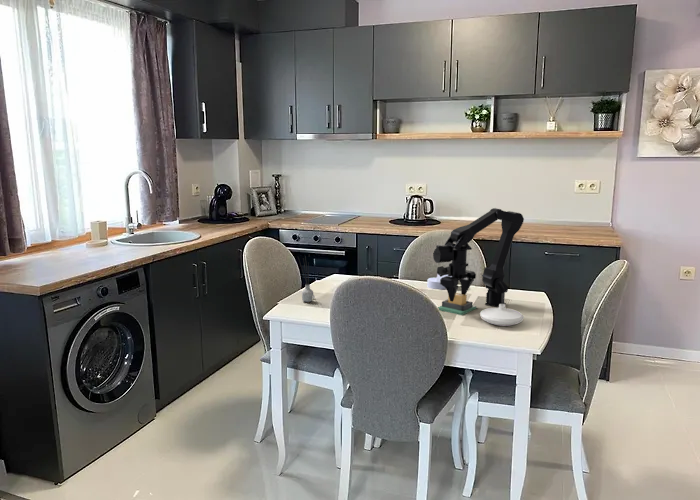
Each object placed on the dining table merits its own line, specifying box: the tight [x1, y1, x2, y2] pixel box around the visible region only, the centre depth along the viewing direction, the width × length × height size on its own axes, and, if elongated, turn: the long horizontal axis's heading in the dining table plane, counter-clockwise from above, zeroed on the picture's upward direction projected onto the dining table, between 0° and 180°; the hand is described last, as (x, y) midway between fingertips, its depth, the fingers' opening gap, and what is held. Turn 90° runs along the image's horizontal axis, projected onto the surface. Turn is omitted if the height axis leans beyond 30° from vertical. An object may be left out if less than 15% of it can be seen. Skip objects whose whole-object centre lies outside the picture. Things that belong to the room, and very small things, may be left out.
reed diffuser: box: [297, 254, 315, 303], centre depth 232 cm, size 10×7×20 cm
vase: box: [479, 304, 525, 327], centre depth 206 cm, size 16×16×7 cm
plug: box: [447, 292, 467, 305], centre depth 223 cm, size 6×4×5 cm, turn 50°
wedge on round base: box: [426, 273, 452, 290], centre depth 257 cm, size 9×7×13 cm
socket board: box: [438, 298, 477, 316], centre depth 223 cm, size 11×12×3 cm
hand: (457, 298), depth 223 cm, fingers open, 9 cm apart
